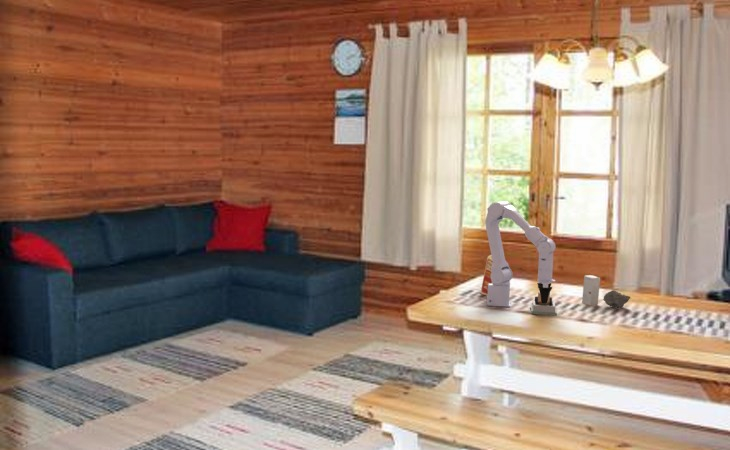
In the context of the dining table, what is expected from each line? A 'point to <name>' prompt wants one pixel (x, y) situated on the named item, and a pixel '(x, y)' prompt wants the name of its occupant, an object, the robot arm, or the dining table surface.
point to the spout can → (540, 300)
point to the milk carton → (487, 276)
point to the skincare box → (591, 290)
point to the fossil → (615, 299)
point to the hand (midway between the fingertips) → (543, 301)
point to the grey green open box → (543, 307)
